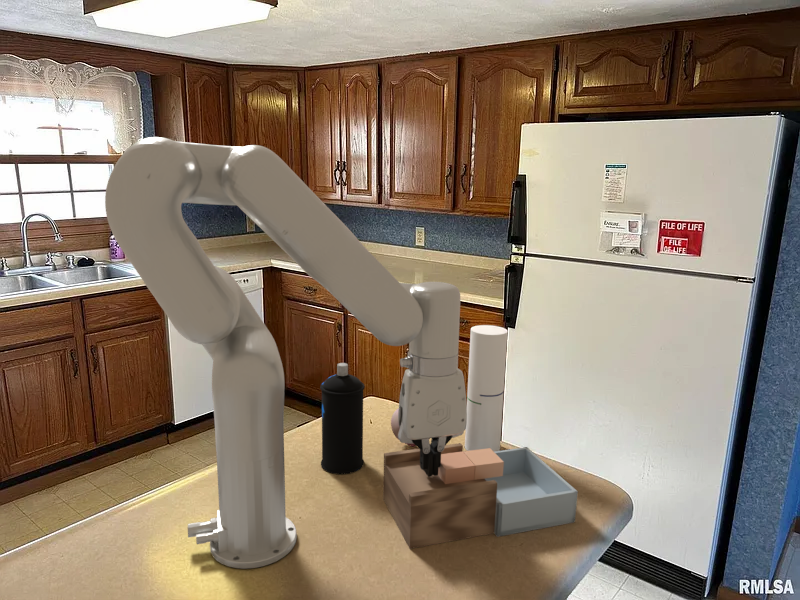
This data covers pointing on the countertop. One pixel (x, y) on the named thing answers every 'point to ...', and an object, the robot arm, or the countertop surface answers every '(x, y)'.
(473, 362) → the cylindrical container
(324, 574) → the countertop surface
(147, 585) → the countertop surface
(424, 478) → the brown wooden box
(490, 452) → the tile
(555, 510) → the bin
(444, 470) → the tile
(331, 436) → the aerosol can
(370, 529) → the countertop surface
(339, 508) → the countertop surface
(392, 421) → the decorative fruit
